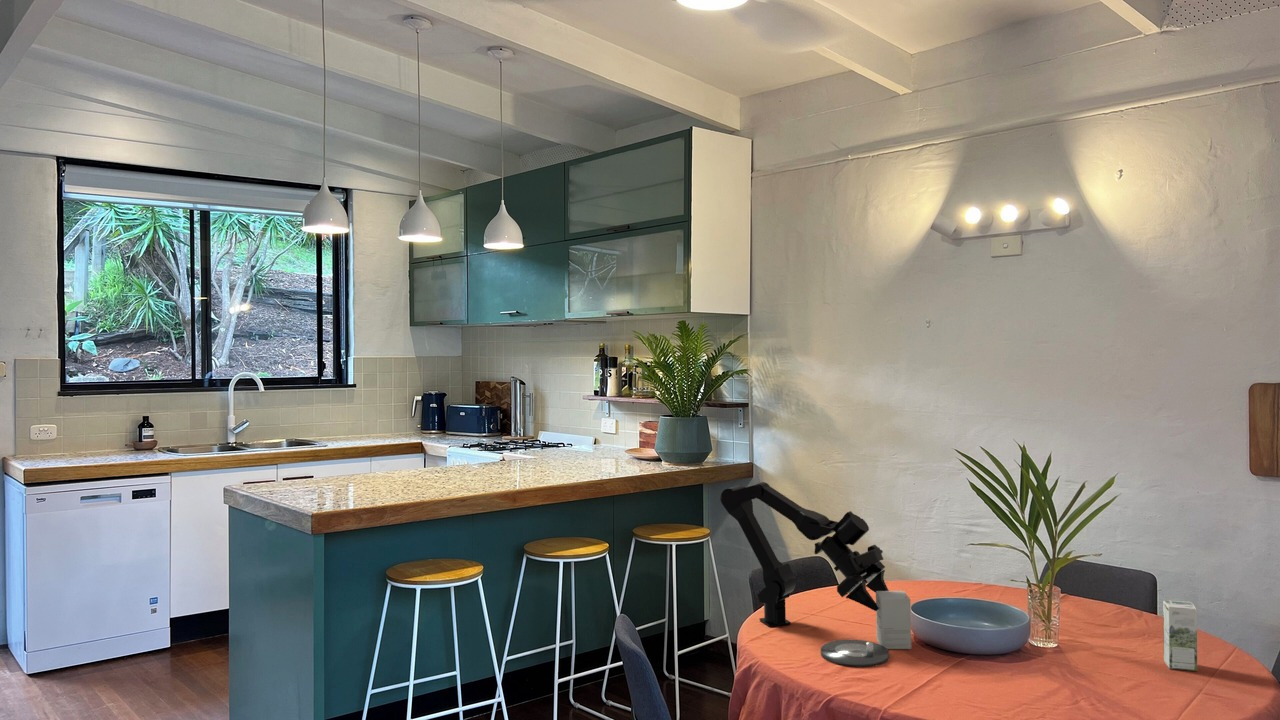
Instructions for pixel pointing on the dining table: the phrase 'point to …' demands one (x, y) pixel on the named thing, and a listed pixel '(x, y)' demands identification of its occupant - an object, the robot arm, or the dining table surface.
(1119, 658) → the dining table surface
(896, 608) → the supplement box
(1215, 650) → the dining table surface
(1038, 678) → the dining table surface
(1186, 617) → the syrup box
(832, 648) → the base plate
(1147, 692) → the dining table surface
